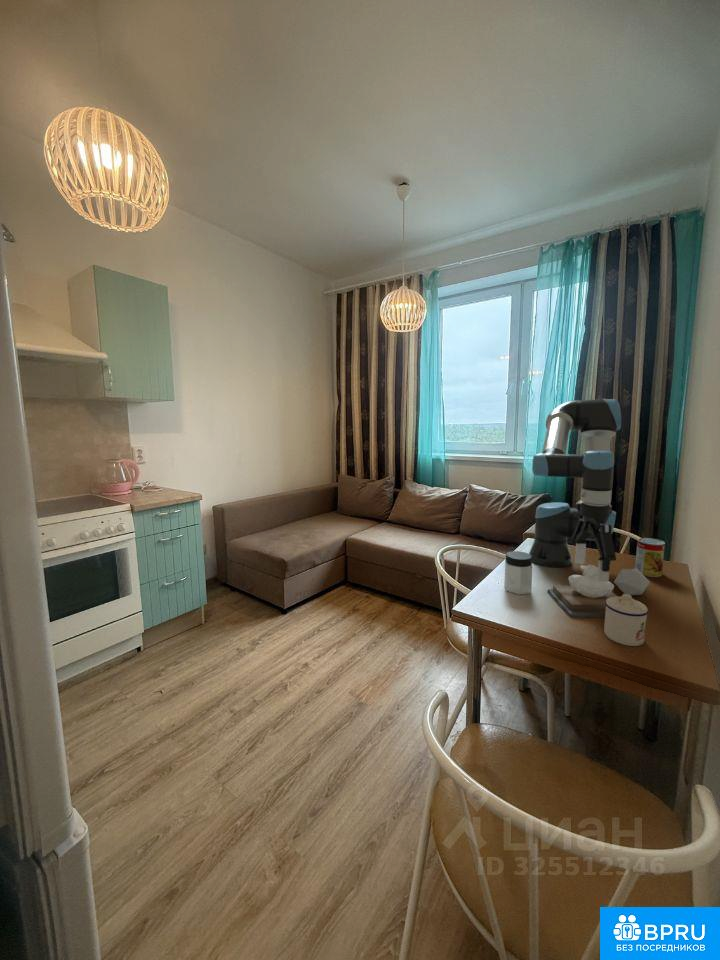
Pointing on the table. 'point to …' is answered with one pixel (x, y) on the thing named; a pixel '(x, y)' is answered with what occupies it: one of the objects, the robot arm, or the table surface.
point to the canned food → (650, 556)
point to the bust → (590, 583)
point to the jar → (518, 572)
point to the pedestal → (579, 602)
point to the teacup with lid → (625, 620)
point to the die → (631, 581)
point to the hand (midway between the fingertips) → (590, 571)
